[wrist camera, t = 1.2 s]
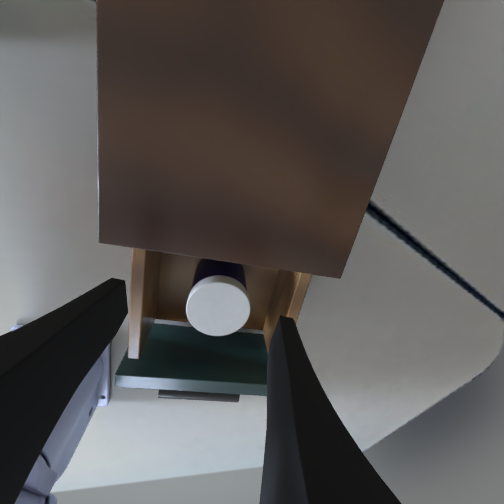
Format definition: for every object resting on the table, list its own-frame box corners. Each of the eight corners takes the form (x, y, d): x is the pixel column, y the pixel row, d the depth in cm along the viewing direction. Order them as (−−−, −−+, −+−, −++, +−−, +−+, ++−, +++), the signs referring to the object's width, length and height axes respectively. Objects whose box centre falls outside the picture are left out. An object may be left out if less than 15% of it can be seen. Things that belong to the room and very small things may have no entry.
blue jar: (239, 300, 22) (243, 339, 17) (191, 294, 21) (182, 333, 17) (249, 256, 20) (256, 287, 16) (197, 248, 20) (189, 278, 15)
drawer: (261, 375, 27) (270, 431, 21) (137, 366, 25) (113, 426, 19) (311, 201, 20) (343, 220, 15) (149, 169, 18) (118, 178, 13)
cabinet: (304, 238, 22) (340, 278, 15) (142, 209, 20) (97, 243, 13) (369, 18, 17) (472, -75, 10) (156, -55, 15) (93, -244, 8)
